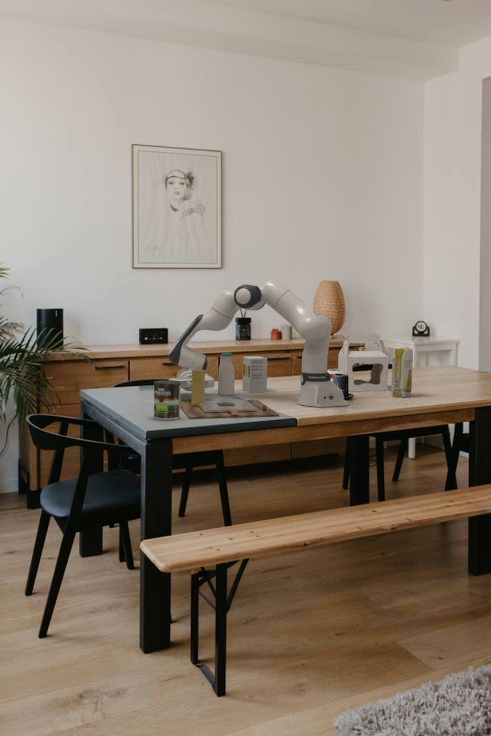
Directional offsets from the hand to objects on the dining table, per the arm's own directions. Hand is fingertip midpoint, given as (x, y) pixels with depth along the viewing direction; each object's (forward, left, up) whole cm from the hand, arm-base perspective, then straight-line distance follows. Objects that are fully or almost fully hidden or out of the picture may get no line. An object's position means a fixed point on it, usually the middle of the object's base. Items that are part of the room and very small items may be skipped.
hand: (193, 385), depth 298 cm
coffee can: (+15, +28, -9) cm, 33 cm away
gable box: (-91, -33, -9) cm, 98 cm away
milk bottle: (-19, -25, -9) cm, 33 cm away
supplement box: (-35, -34, -9) cm, 50 cm away
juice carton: (-101, -9, -9) cm, 102 cm away
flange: (-10, +17, -7) cm, 21 cm away
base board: (-11, +14, -8) cm, 20 cm away
